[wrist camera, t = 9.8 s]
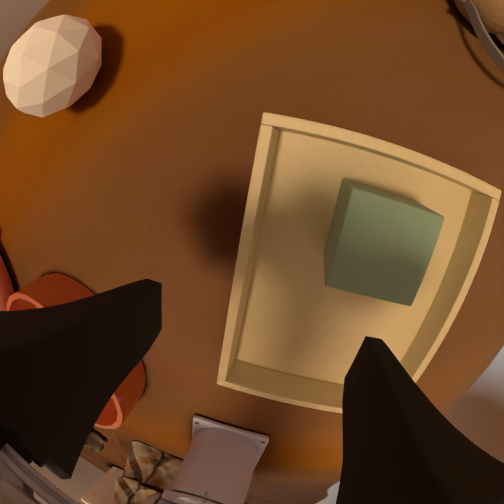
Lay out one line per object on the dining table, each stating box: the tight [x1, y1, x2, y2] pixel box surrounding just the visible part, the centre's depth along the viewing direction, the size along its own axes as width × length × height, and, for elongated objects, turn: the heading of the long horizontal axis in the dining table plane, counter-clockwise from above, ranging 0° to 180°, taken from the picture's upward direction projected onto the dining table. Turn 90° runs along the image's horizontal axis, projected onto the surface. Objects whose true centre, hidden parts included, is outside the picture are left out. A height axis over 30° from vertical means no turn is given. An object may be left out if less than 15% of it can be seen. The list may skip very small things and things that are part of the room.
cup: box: [81, 466, 123, 504], centre depth 36 cm, size 10×10×13 cm
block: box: [323, 179, 444, 306], centre depth 13 cm, size 4×4×4 cm
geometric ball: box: [3, 14, 102, 117], centre depth 12 cm, size 8×8×8 cm
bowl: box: [7, 273, 146, 429], centre depth 23 cm, size 17×17×5 cm
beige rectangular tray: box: [217, 112, 501, 413], centre depth 15 cm, size 17×13×3 cm
